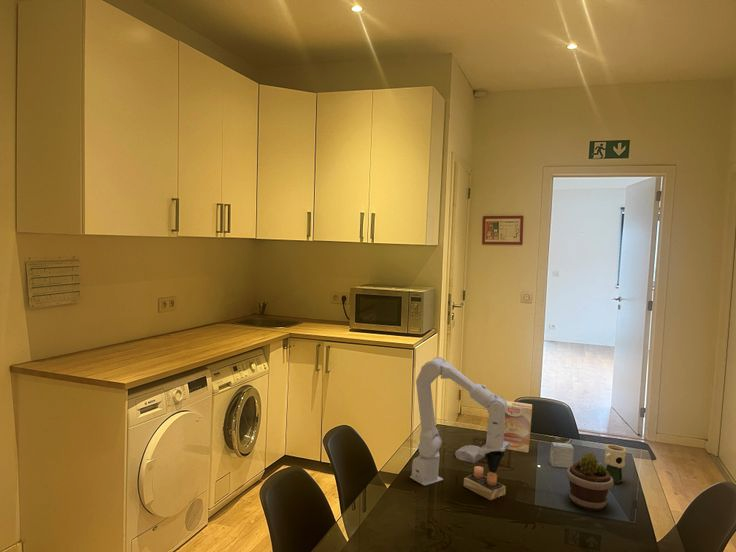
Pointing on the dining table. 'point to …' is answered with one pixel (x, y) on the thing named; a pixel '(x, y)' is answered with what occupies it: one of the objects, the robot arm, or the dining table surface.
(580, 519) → the dining table surface
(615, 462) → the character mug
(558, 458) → the medicine box
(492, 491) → the socket block
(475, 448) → the stone block
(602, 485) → the flowerpot
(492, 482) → the peg
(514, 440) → the coffeecake box
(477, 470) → the peg
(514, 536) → the dining table surface
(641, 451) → the dining table surface
